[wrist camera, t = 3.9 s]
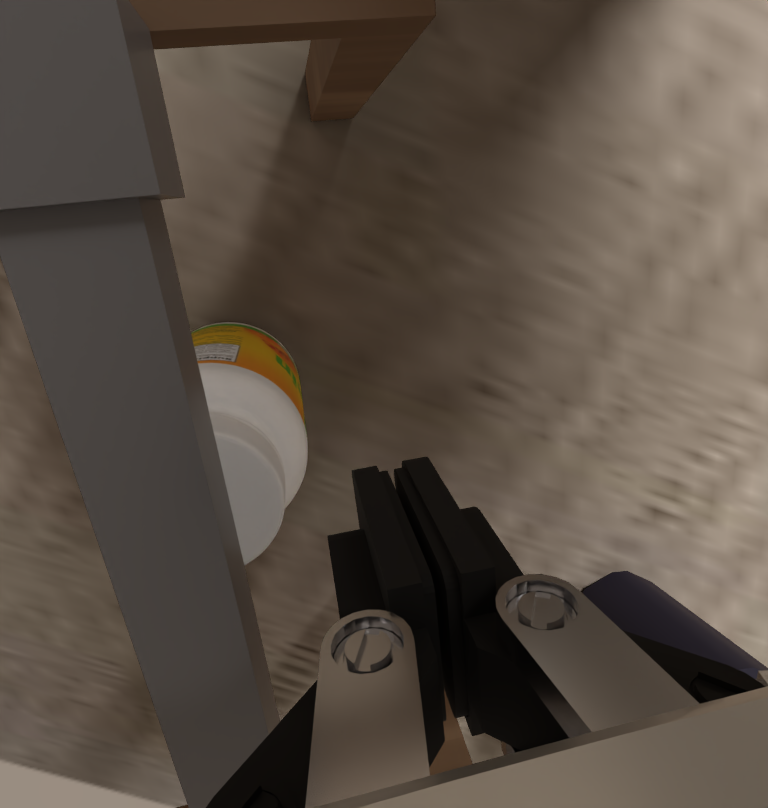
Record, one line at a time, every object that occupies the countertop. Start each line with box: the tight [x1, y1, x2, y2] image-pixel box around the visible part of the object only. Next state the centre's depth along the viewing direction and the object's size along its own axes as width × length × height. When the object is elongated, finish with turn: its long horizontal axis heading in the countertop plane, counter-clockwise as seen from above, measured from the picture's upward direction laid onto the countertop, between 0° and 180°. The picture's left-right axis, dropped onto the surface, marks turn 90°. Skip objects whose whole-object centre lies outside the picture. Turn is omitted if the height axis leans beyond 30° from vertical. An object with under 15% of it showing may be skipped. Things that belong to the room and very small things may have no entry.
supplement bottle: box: [191, 322, 308, 566], centre depth 17 cm, size 5×5×10 cm
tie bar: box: [0, 0, 280, 808], centre depth 10 cm, size 22×3×2 cm, turn 5°
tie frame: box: [129, 0, 472, 808], centre depth 16 cm, size 22×21×11 cm
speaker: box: [583, 571, 768, 679], centre depth 25 cm, size 8×6×10 cm
